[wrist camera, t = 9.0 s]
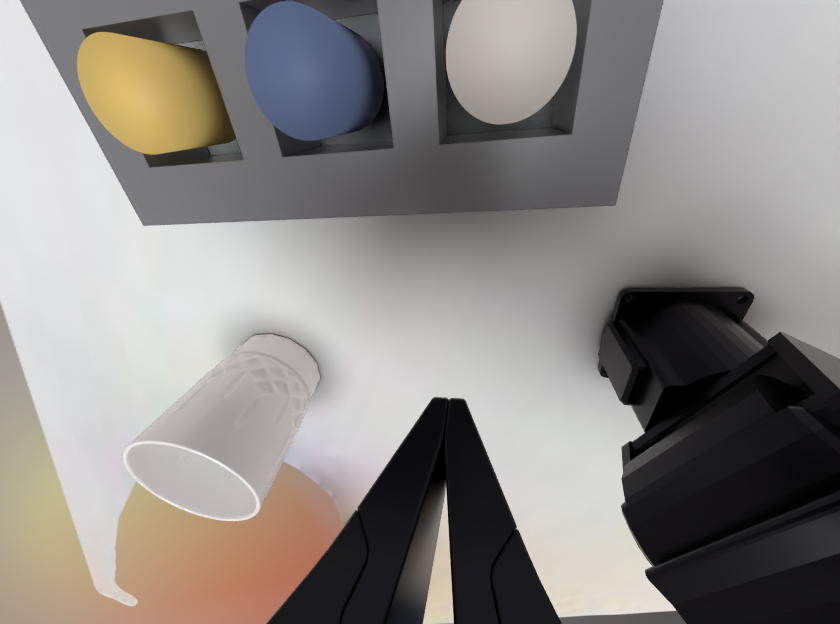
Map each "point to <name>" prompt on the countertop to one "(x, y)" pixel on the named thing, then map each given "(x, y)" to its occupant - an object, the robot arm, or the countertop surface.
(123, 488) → the countertop surface
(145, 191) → the key block
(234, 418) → the white cup
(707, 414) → the robot arm
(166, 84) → the ochre key
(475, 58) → the white key
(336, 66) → the navy key
